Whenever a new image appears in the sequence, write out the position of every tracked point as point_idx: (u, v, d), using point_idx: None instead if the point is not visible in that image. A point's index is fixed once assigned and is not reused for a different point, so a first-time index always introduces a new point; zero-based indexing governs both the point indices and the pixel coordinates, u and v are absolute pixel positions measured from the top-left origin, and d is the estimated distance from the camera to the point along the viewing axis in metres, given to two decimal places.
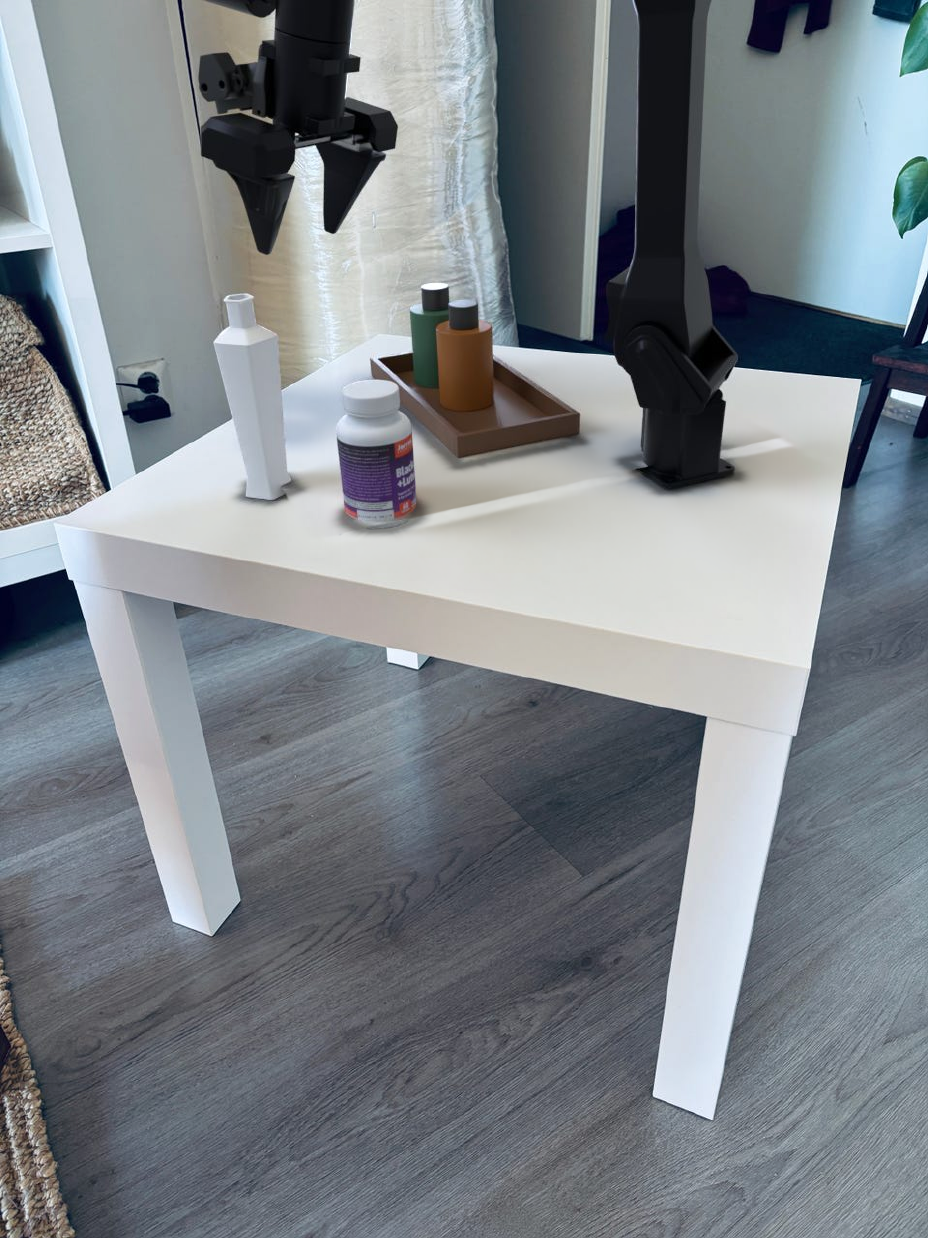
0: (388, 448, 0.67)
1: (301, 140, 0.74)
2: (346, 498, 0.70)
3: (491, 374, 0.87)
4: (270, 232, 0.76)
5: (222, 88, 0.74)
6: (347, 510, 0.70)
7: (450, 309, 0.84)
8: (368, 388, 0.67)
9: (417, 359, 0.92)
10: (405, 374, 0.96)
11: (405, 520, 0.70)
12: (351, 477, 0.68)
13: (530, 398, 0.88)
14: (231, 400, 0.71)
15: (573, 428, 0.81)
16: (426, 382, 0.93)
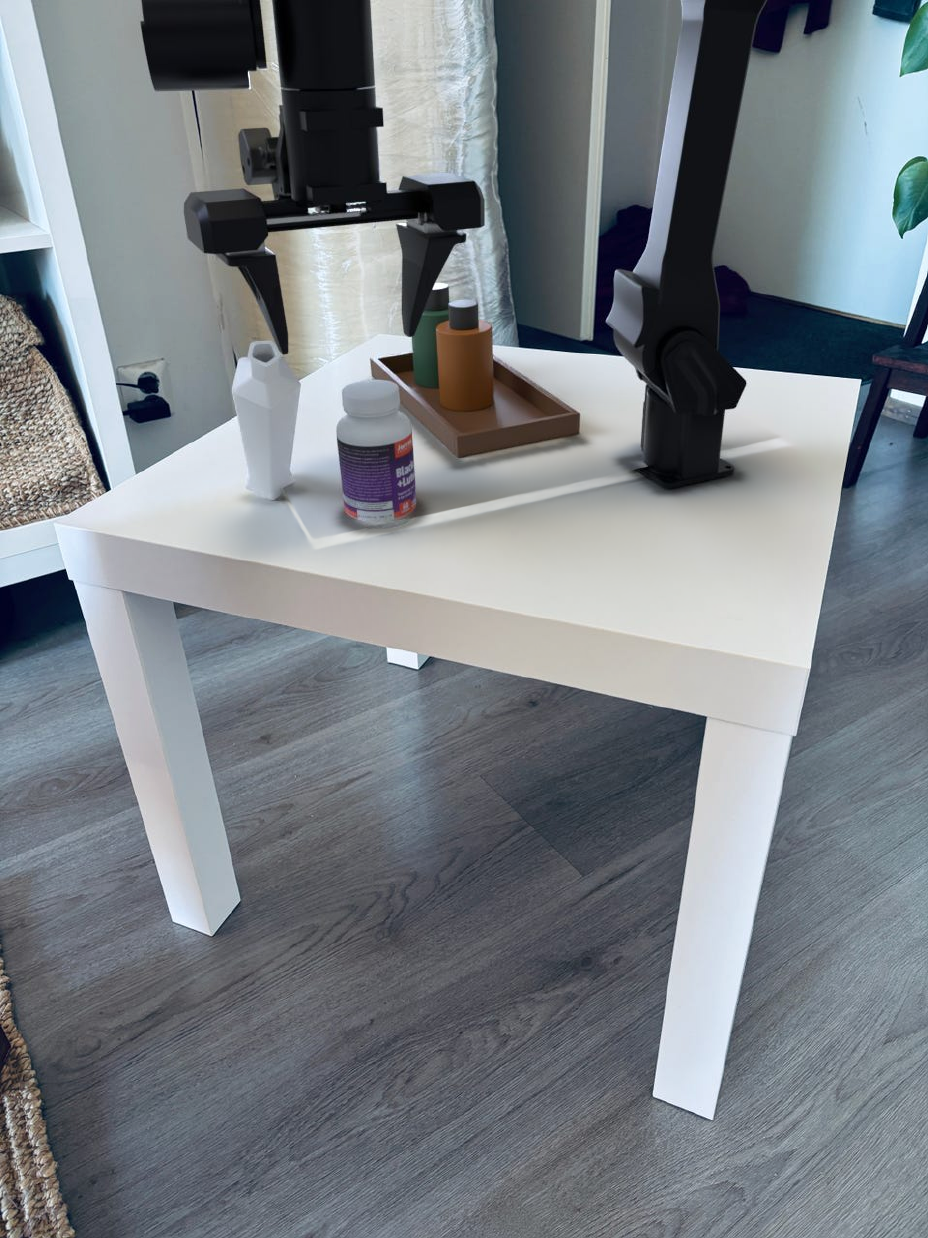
0: (388, 448, 0.67)
1: (306, 215, 0.60)
2: (346, 498, 0.70)
3: (491, 374, 0.87)
4: (272, 326, 0.63)
5: (249, 166, 0.63)
6: (347, 510, 0.70)
7: (450, 309, 0.84)
8: (368, 388, 0.67)
9: (417, 359, 0.92)
10: (405, 374, 0.96)
11: (405, 520, 0.70)
12: (351, 477, 0.68)
13: (530, 398, 0.88)
14: (243, 430, 0.68)
15: (573, 428, 0.81)
16: (426, 382, 0.93)
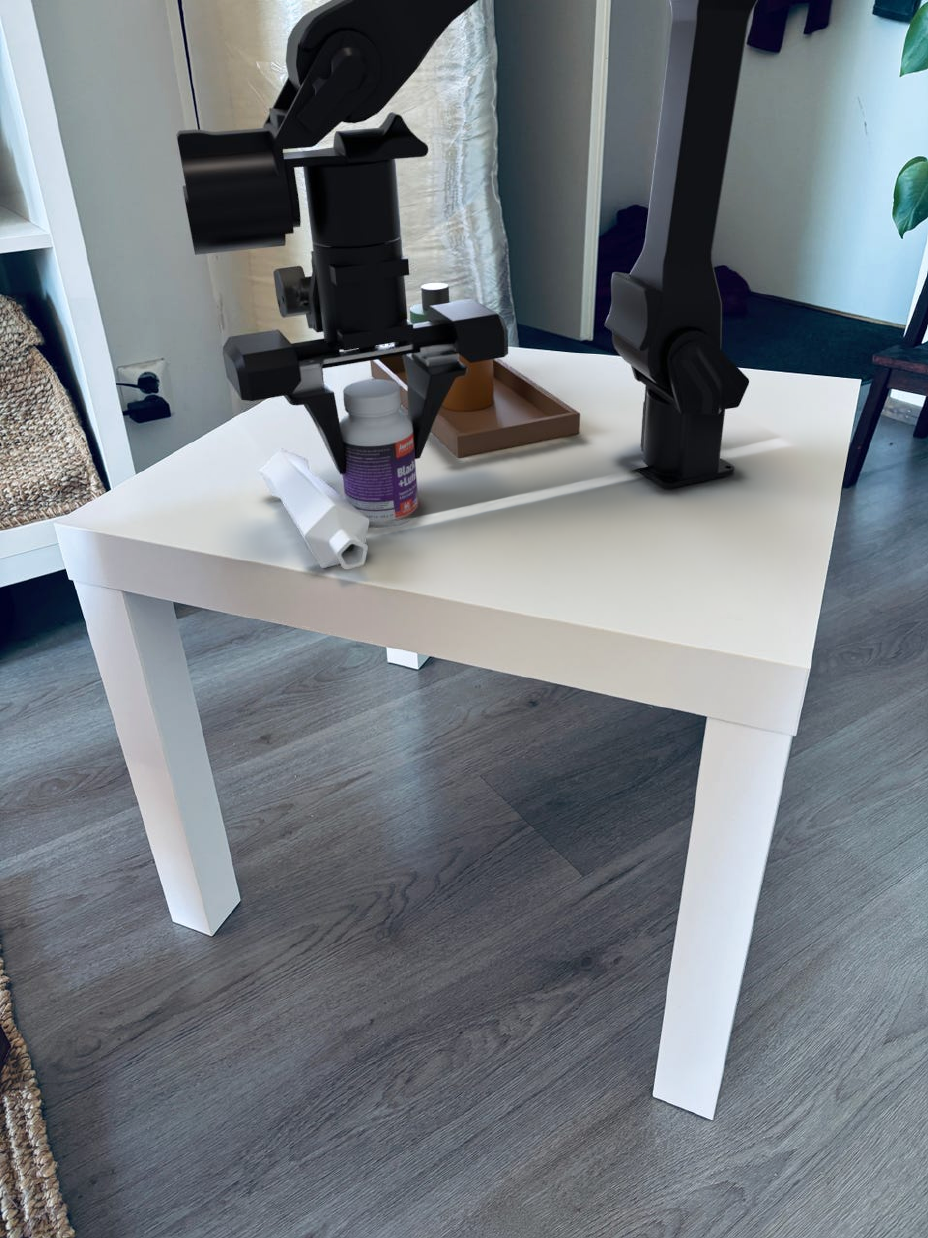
0: (389, 447, 0.67)
1: (362, 352, 0.64)
2: (347, 498, 0.70)
3: (491, 374, 0.87)
4: (331, 451, 0.67)
5: (284, 304, 0.67)
6: None
7: None
8: (369, 387, 0.67)
9: None
10: (405, 374, 0.96)
11: (406, 520, 0.70)
12: (352, 476, 0.68)
13: (530, 398, 0.88)
14: None
15: (573, 428, 0.81)
16: None
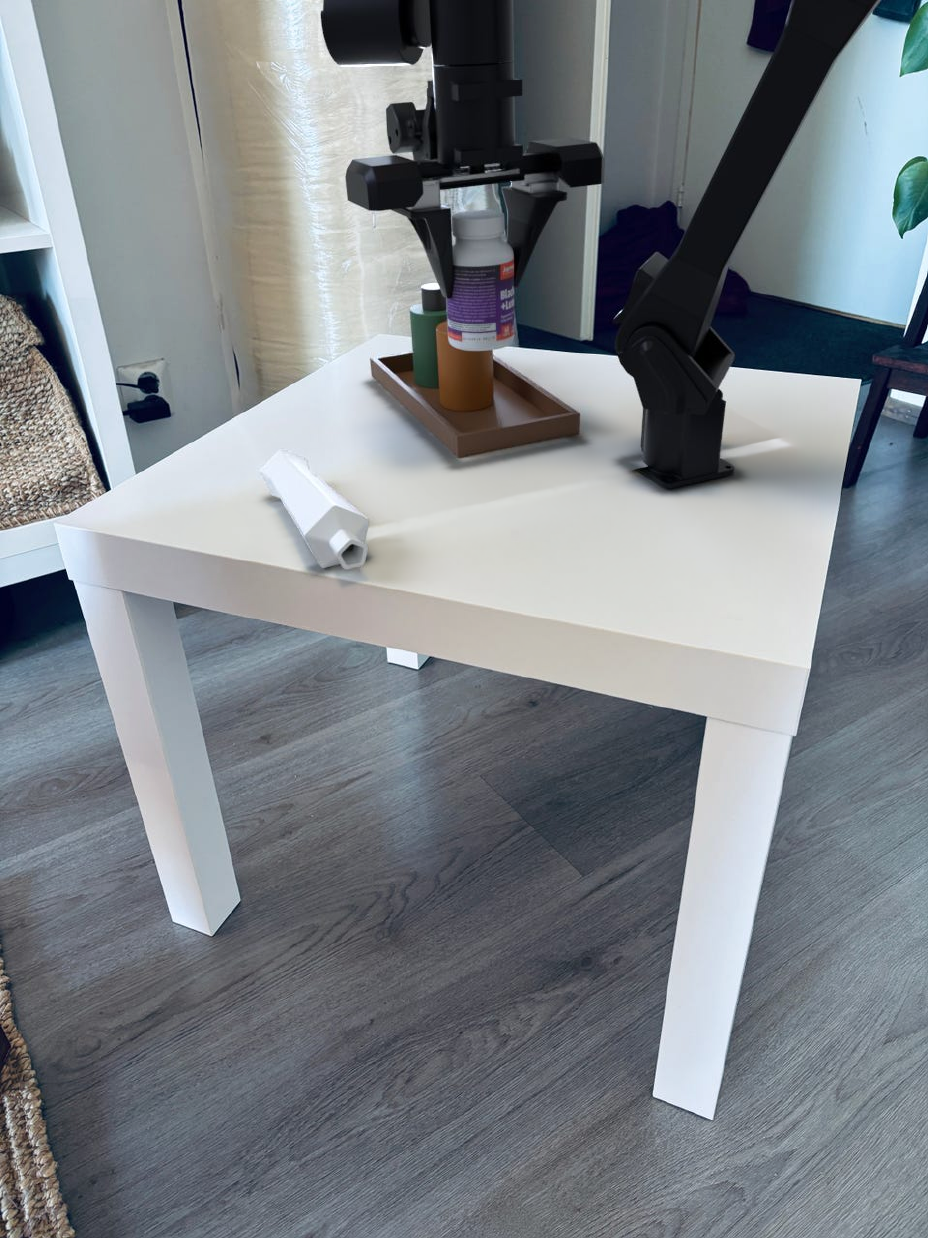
0: (495, 268, 0.72)
1: (474, 173, 0.69)
2: (451, 323, 0.75)
3: (491, 374, 0.87)
4: (441, 272, 0.72)
5: (398, 136, 0.72)
6: (452, 335, 0.76)
7: None
8: (476, 214, 0.73)
9: (417, 359, 0.92)
10: (405, 374, 0.96)
11: (505, 344, 0.76)
12: (458, 299, 0.74)
13: (530, 398, 0.88)
14: None
15: (573, 428, 0.81)
16: (426, 382, 0.93)
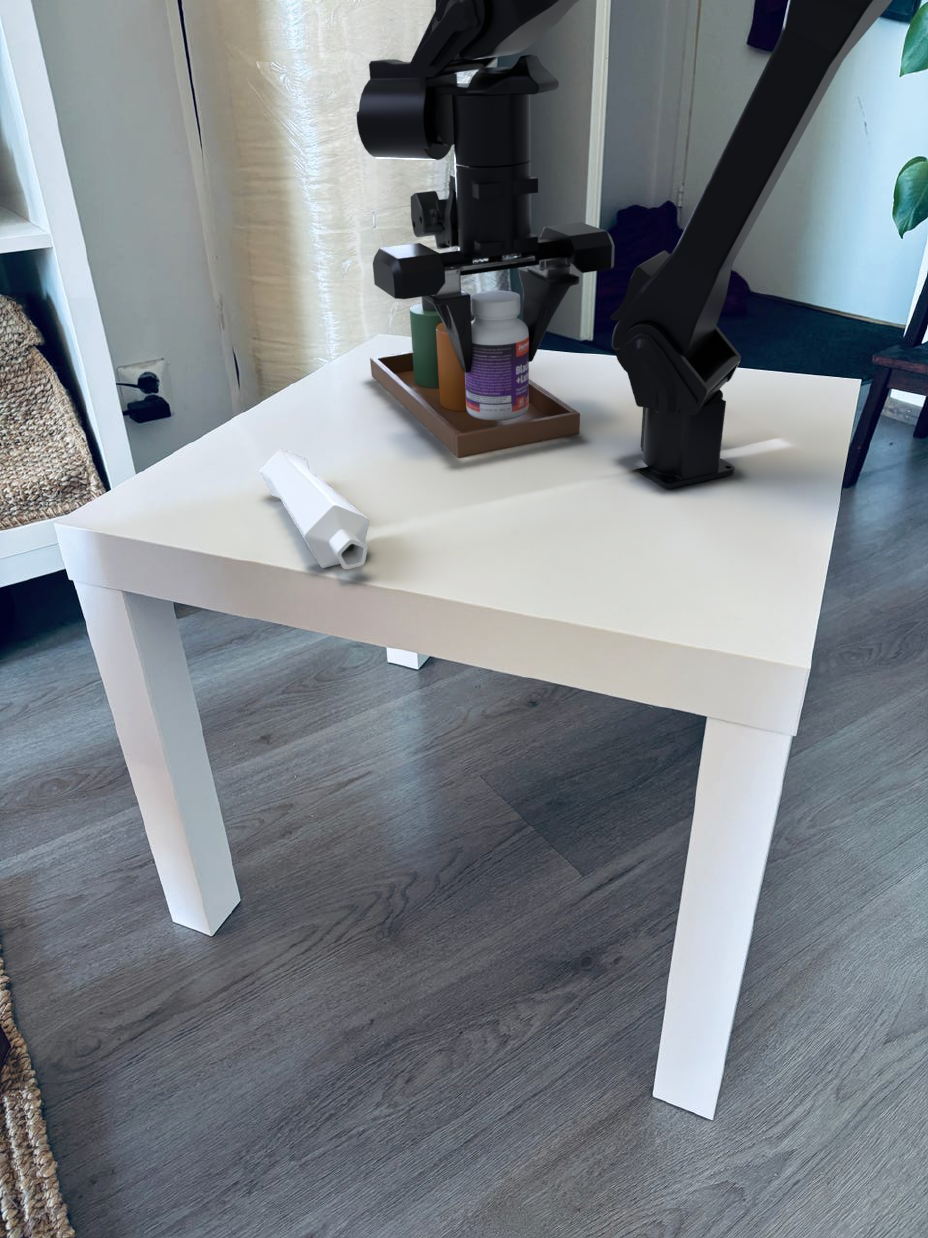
0: (511, 347, 0.77)
1: (493, 261, 0.75)
2: (470, 394, 0.81)
3: None
4: (461, 350, 0.77)
5: (421, 223, 0.77)
6: (470, 405, 0.81)
7: None
8: (494, 295, 0.78)
9: (417, 359, 0.92)
10: (405, 374, 0.96)
11: (520, 414, 0.81)
12: (477, 373, 0.79)
13: (530, 398, 0.88)
14: None
15: (573, 428, 0.81)
16: (426, 382, 0.93)
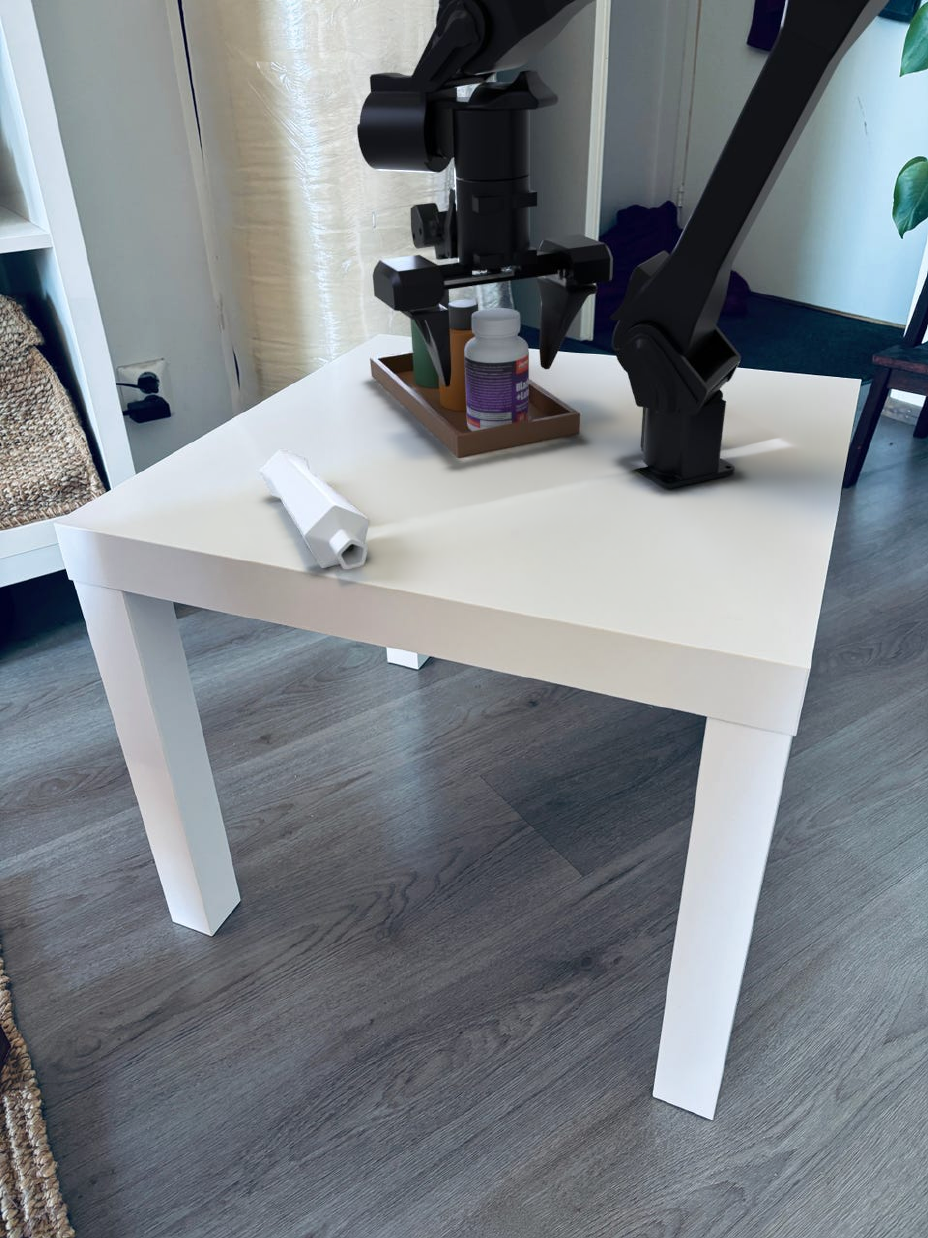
0: (511, 364, 0.78)
1: (471, 276, 0.75)
2: (470, 411, 0.81)
3: None
4: (440, 364, 0.77)
5: (421, 235, 0.78)
6: (470, 421, 0.82)
7: (450, 309, 0.84)
8: (494, 313, 0.78)
9: (417, 359, 0.92)
10: (405, 374, 0.96)
11: None
12: (477, 390, 0.80)
13: (530, 398, 0.88)
14: None
15: (573, 428, 0.81)
16: (426, 382, 0.93)
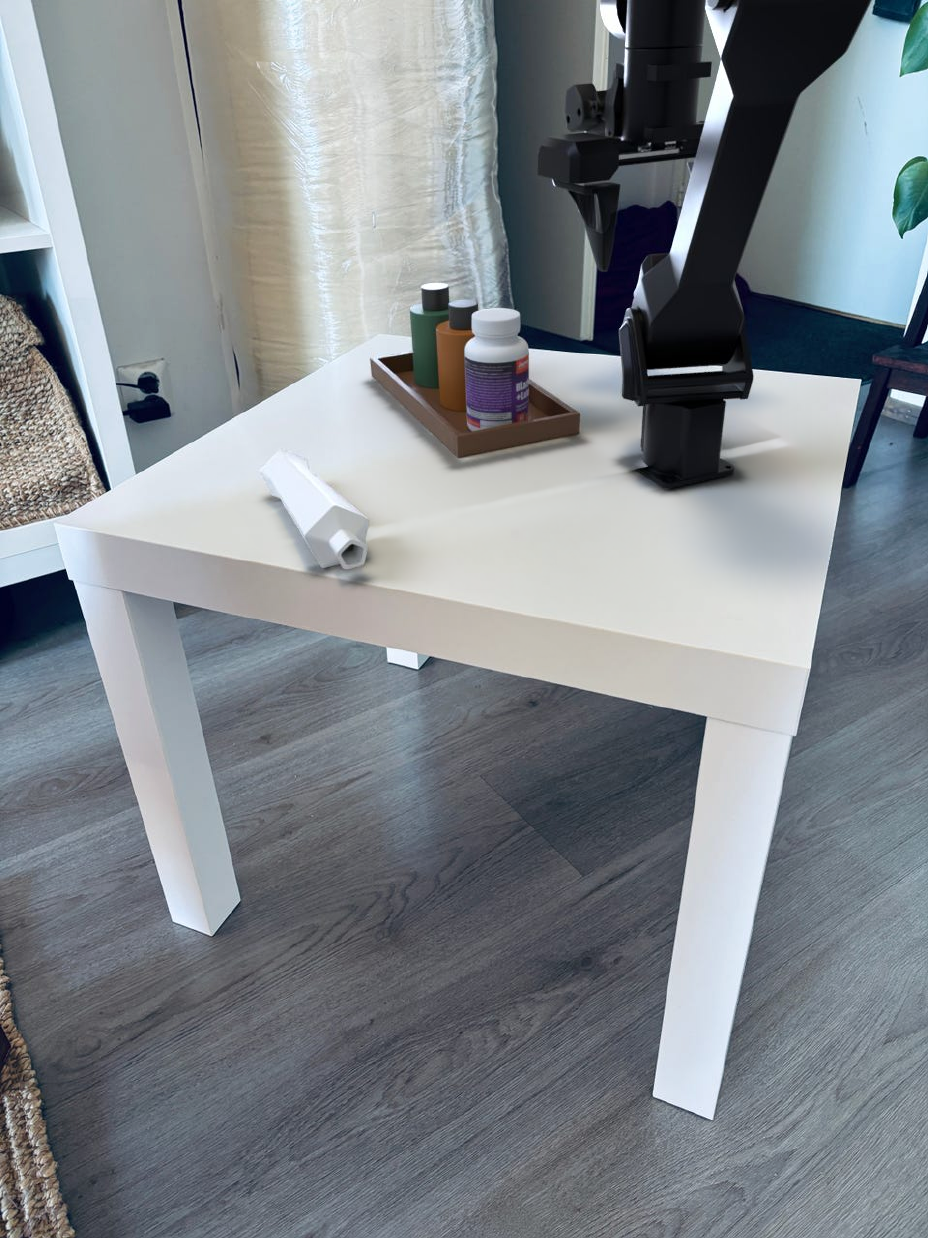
0: (511, 364, 0.78)
1: (640, 152, 0.74)
2: (470, 411, 0.81)
3: None
4: (602, 246, 0.77)
5: (579, 116, 0.77)
6: (470, 421, 0.82)
7: (450, 309, 0.84)
8: (494, 313, 0.78)
9: (417, 359, 0.92)
10: (405, 374, 0.96)
11: None
12: (477, 390, 0.80)
13: (530, 398, 0.88)
14: None
15: (573, 428, 0.81)
16: (426, 382, 0.93)
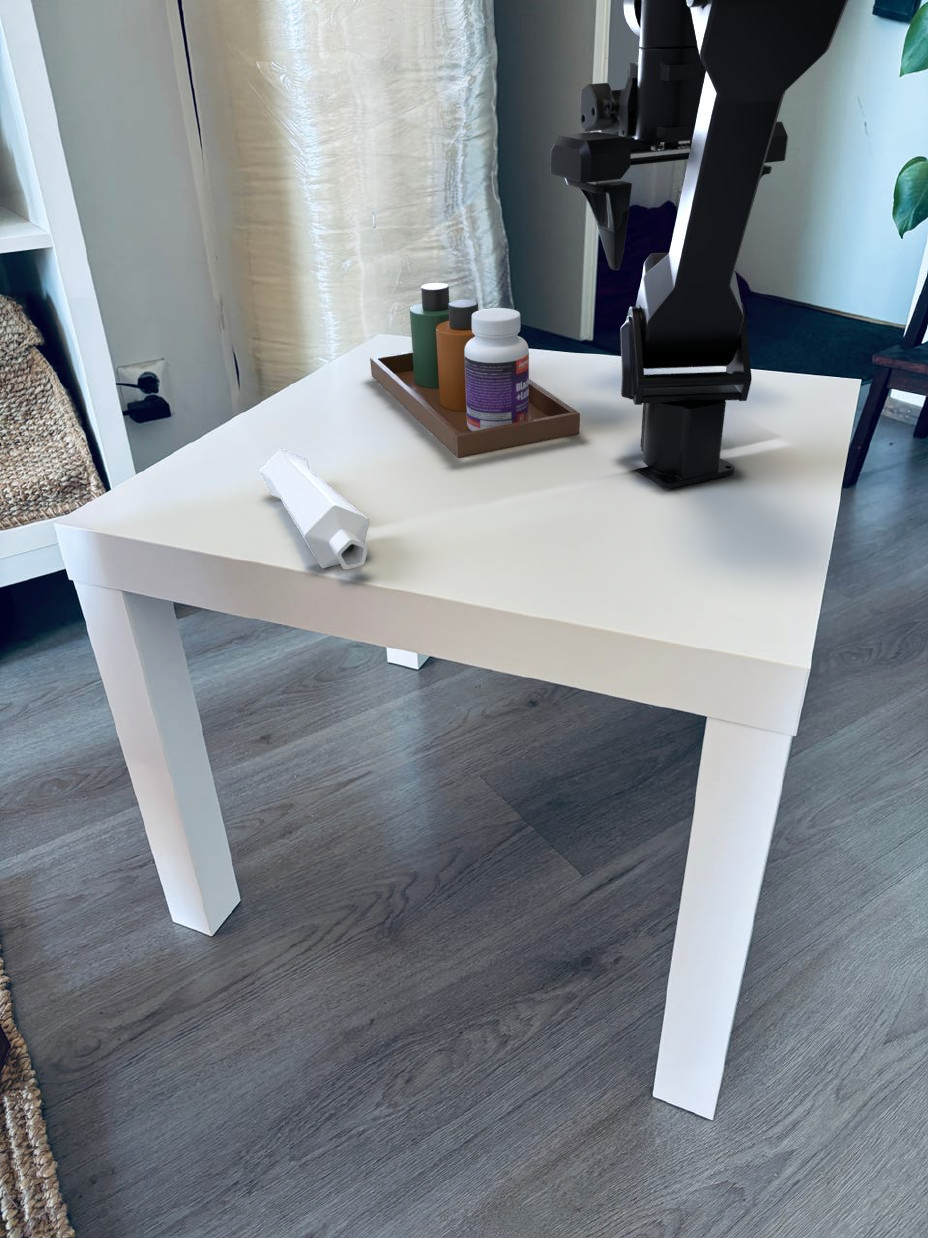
0: (511, 364, 0.78)
1: (652, 151, 0.74)
2: (470, 411, 0.81)
3: None
4: (614, 244, 0.77)
5: (594, 115, 0.77)
6: (470, 421, 0.82)
7: (450, 309, 0.84)
8: (494, 313, 0.78)
9: (417, 359, 0.92)
10: (405, 374, 0.96)
11: None
12: (477, 390, 0.80)
13: (530, 398, 0.88)
14: None
15: (573, 428, 0.81)
16: (426, 382, 0.93)
